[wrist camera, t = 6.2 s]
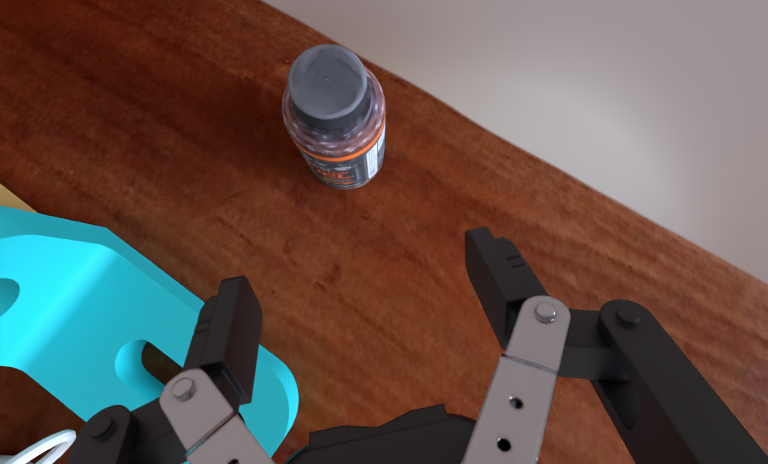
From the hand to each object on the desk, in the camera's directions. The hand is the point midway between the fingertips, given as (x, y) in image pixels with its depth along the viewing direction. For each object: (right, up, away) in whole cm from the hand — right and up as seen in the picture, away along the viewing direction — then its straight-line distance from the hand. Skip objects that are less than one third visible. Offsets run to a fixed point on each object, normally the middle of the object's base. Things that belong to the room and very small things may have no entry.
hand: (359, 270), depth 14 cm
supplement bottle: (-2, +7, +16) cm, 18 cm away
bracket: (-15, -8, +14) cm, 22 cm away
